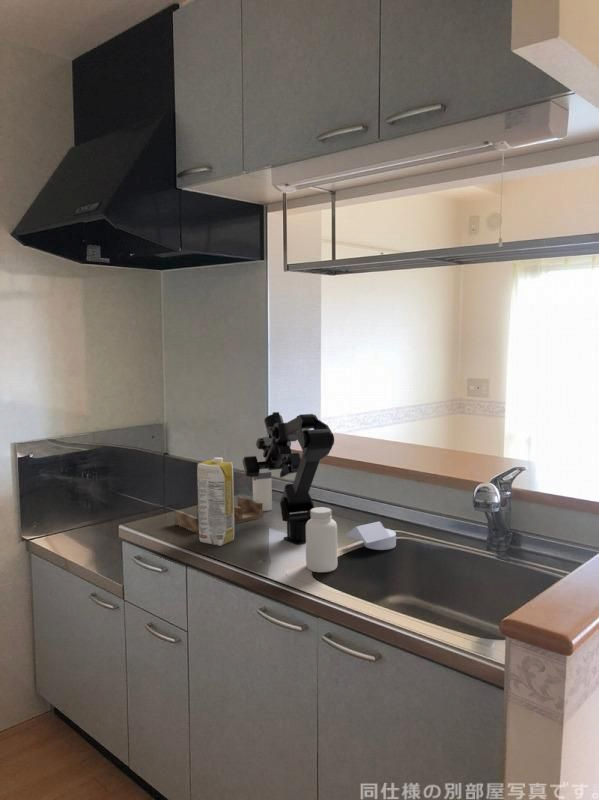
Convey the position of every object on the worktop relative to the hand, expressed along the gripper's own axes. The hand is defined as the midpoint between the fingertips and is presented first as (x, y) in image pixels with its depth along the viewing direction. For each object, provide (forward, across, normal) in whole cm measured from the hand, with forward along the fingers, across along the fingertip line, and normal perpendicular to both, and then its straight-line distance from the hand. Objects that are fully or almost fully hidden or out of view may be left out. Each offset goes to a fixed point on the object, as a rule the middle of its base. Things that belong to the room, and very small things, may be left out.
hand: (267, 478), depth 210 cm
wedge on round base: (-21, -17, +38) cm, 47 cm away
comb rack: (+7, +17, +10) cm, 20 cm away
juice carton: (-6, +22, +23) cm, 33 cm away
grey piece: (+12, 0, +5) cm, 13 cm away
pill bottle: (-28, +3, +44) cm, 52 cm away
